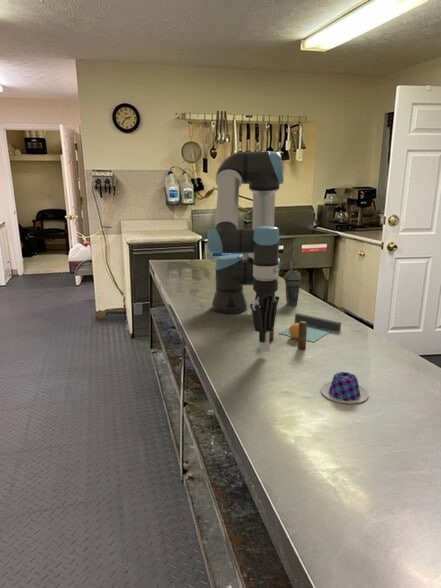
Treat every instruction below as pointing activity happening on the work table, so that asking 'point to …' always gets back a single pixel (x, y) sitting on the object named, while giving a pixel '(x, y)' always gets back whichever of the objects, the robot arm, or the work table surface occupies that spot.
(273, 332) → the left post
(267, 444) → the work table surface
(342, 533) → the work table surface
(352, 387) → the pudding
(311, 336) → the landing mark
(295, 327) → the ball
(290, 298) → the beverage cup
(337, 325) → the stopper wall
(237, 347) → the work table surface
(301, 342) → the right post
